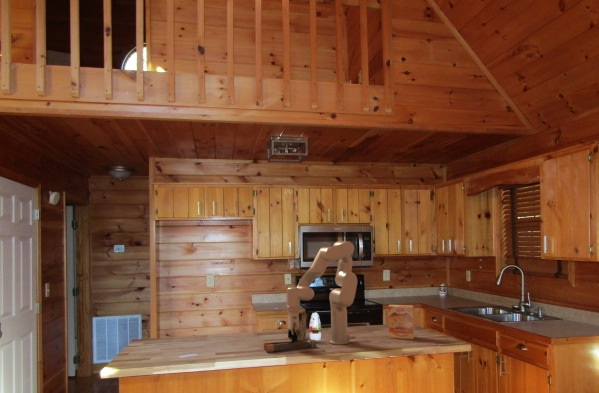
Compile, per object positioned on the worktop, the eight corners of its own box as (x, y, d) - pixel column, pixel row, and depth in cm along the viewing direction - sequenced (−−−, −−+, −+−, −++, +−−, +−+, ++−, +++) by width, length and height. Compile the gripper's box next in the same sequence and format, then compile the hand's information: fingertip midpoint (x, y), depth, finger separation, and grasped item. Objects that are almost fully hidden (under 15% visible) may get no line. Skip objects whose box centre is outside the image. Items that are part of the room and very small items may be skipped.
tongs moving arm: (310, 346, 258) (310, 340, 258) (312, 347, 256) (312, 340, 256) (265, 351, 248) (265, 344, 248) (266, 352, 246) (266, 345, 246)
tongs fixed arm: (314, 345, 261) (314, 339, 261) (316, 347, 257) (316, 341, 257) (263, 349, 254) (263, 342, 255) (264, 350, 250) (264, 344, 250)
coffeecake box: (388, 338, 278) (387, 306, 279) (389, 335, 284) (389, 304, 286) (413, 339, 273) (412, 306, 275) (414, 336, 280) (413, 305, 282)
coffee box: (288, 339, 278) (288, 312, 279) (293, 337, 283) (293, 310, 285) (301, 340, 273) (301, 313, 275) (306, 338, 279) (306, 311, 281)
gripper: (302, 311, 250) (302, 343, 249) (296, 306, 267) (295, 336, 265) (289, 311, 249) (289, 343, 247) (283, 307, 265) (283, 336, 264)
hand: (292, 339), depth 256 cm, fingers open, 9 cm apart
